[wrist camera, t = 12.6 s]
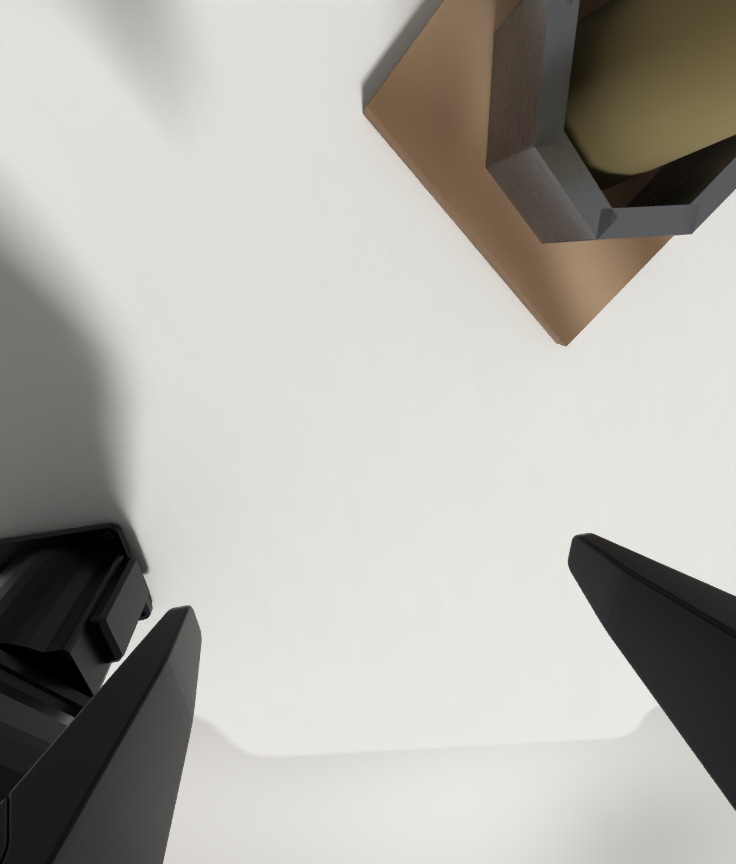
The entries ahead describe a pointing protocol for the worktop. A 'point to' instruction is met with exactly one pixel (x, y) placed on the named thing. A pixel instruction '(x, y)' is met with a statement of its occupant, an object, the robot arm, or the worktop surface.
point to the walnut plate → (474, 186)
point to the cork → (651, 84)
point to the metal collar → (556, 156)
